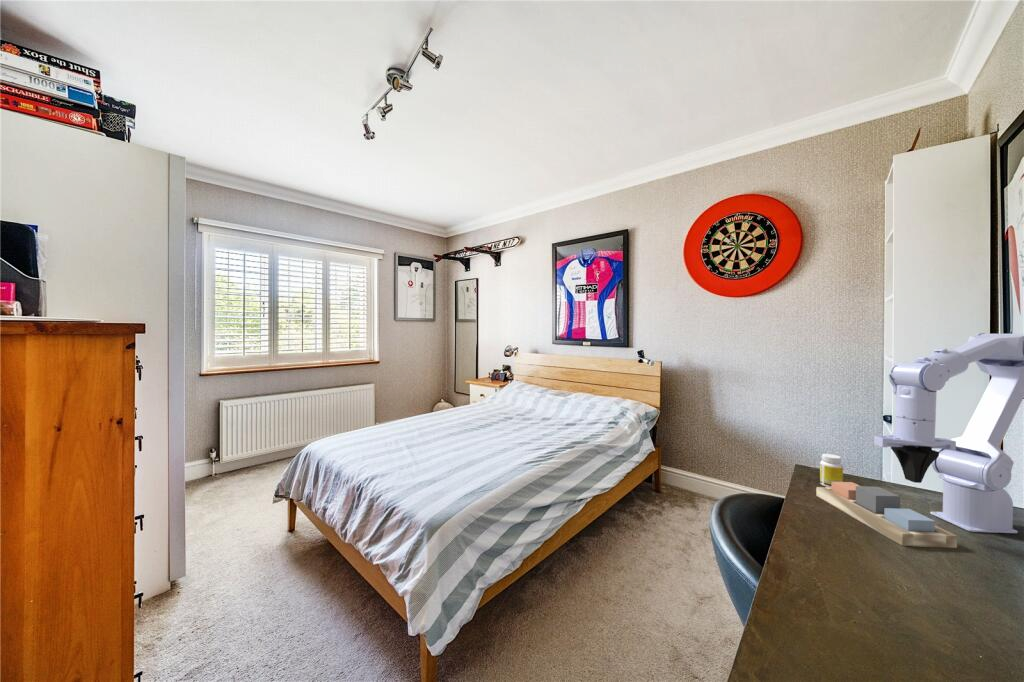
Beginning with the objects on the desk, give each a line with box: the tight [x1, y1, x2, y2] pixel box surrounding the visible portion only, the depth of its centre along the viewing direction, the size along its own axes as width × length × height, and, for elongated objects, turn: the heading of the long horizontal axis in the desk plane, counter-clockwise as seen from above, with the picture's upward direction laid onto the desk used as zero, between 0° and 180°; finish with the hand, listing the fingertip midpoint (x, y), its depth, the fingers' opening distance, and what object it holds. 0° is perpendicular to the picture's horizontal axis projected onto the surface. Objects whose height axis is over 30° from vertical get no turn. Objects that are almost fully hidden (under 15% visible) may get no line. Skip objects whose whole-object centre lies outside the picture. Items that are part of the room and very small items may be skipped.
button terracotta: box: [831, 481, 860, 500], centre depth 89 cm, size 5×5×4 cm
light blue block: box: [884, 508, 936, 532], centre depth 75 cm, size 5×5×4 cm
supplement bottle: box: [819, 453, 844, 487], centre depth 99 cm, size 5×5×8 cm
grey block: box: [856, 485, 901, 514], centre depth 82 cm, size 5×5×4 cm
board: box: [815, 486, 958, 549], centre depth 82 cm, size 10×22×2 cm, turn 176°
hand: (913, 480), depth 77 cm, fingers closed
